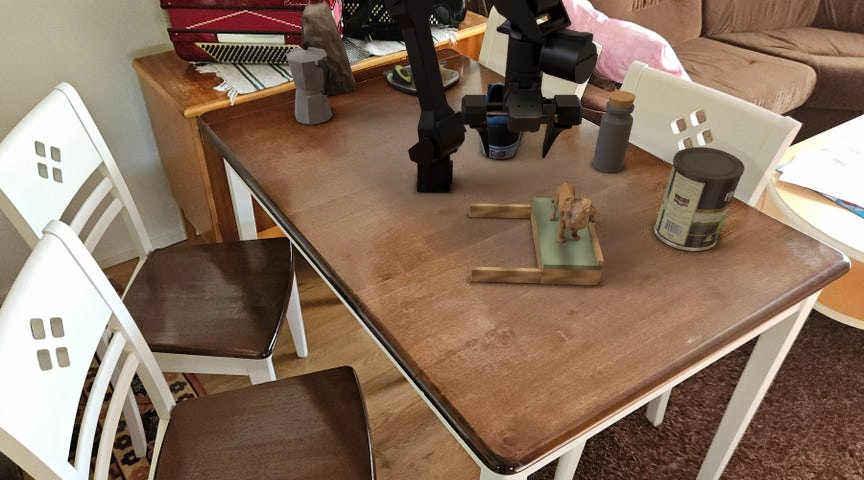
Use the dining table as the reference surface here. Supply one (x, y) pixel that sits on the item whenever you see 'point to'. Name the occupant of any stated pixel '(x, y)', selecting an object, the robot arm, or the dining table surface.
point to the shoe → (499, 128)
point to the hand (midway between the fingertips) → (515, 156)
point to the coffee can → (697, 198)
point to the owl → (328, 46)
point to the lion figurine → (572, 211)
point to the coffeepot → (310, 84)
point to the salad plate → (405, 82)
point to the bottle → (614, 132)
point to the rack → (545, 248)
